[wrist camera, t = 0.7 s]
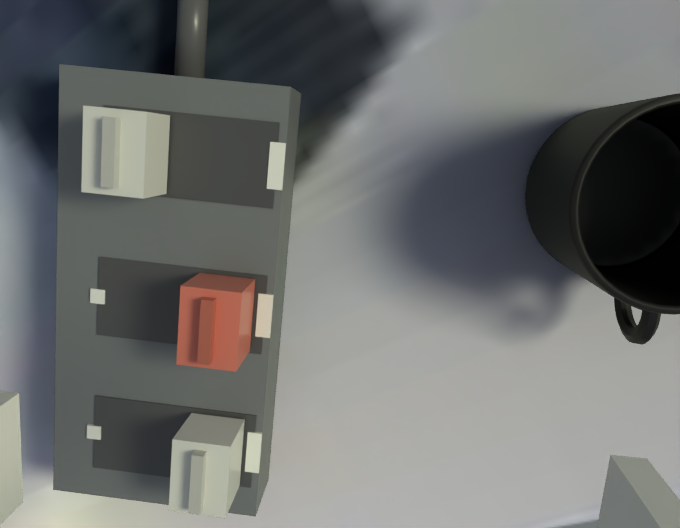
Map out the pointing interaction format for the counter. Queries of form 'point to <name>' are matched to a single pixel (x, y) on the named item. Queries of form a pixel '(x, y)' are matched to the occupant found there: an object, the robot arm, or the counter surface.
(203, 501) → the slider
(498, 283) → the counter surface
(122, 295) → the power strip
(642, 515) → the robot arm
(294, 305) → the counter surface
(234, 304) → the slider
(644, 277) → the mug
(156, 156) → the slider
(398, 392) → the counter surface
